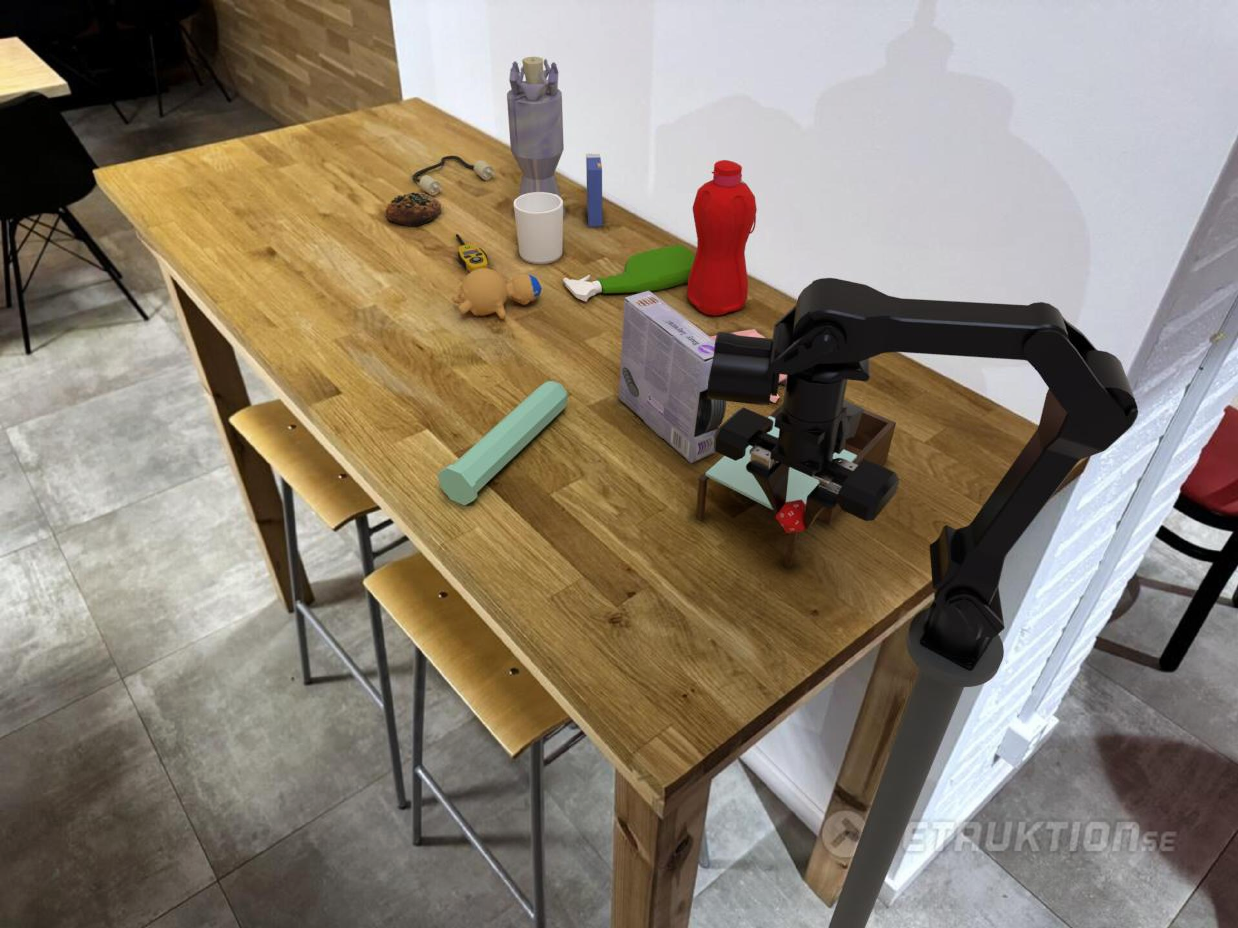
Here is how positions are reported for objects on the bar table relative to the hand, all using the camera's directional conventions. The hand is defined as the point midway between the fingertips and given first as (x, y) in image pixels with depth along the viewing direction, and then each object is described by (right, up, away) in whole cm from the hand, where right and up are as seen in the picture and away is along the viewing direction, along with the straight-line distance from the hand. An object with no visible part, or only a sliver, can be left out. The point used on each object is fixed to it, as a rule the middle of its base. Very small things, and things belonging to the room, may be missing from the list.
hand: (793, 520), depth 101 cm
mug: (-33, +46, +73) cm, 93 cm away
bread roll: (-60, +56, +85) cm, 118 cm away
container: (-34, +8, +29) cm, 45 cm away
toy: (-40, +33, +58) cm, 77 cm away
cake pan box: (-12, +11, +33) cm, 37 cm away
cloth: (+1, +21, +45) cm, 50 cm away
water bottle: (-1, +34, +60) cm, 69 cm away
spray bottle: (-16, +39, +65) cm, 77 cm away
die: (0, -1, +1) cm, 1 cm away
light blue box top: (+1, +6, +15) cm, 16 cm away
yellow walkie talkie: (-47, +45, +72) cm, 97 cm away
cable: (-57, +68, +98) cm, 132 cm away
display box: (+4, +3, +23) cm, 23 cm away
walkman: (-24, +55, +84) cm, 104 cm away
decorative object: (-35, +57, +86) cm, 109 cm away
